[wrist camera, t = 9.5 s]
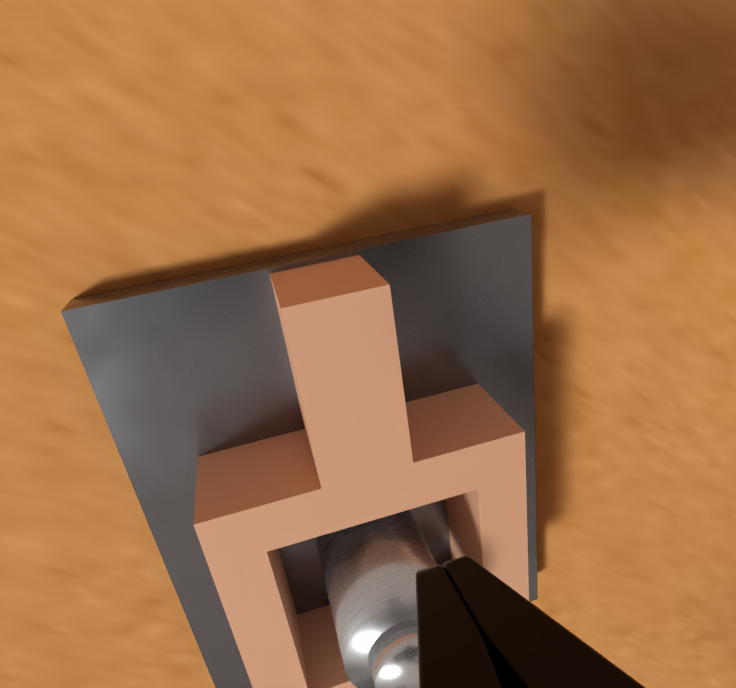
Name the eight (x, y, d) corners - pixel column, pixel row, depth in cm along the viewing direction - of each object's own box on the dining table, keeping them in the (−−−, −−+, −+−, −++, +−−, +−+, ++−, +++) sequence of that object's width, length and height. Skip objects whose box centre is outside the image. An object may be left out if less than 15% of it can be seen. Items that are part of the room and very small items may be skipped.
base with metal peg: (514, 208, 17) (666, 254, 11) (525, 580, 23) (623, 728, 18) (71, 299, 14) (-27, 415, 9) (223, 681, 21) (224, 887, 15)
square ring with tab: (468, 231, 15) (520, 255, 13) (491, 581, 21) (530, 648, 18) (145, 299, 14) (126, 342, 11) (265, 656, 20) (271, 740, 17)
